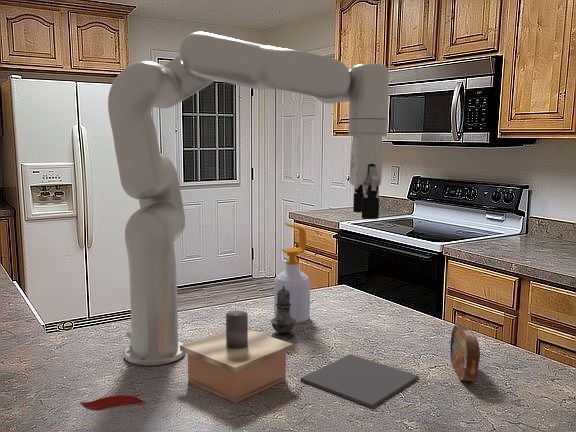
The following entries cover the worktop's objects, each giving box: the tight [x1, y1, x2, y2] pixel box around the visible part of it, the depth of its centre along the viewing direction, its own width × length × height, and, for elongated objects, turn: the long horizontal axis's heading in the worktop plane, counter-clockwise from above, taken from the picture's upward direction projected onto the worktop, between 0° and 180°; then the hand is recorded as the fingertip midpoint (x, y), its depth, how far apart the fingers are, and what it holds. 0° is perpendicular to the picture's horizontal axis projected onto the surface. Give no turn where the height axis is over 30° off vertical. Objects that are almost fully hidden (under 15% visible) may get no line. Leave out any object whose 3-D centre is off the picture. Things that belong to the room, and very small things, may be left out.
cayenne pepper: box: [80, 394, 147, 410], centre depth 96 cm, size 12×5×2 cm, turn 82°
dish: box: [187, 352, 287, 403], centre depth 105 cm, size 13×13×6 cm
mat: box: [300, 353, 419, 409], centre depth 106 cm, size 16×16×1 cm
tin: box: [449, 324, 481, 382], centre depth 110 cm, size 15×3×8 cm, turn 174°
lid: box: [180, 310, 294, 373], centre depth 104 cm, size 15×15×7 cm
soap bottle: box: [273, 222, 311, 324], centre depth 141 cm, size 9×9×25 cm
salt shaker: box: [270, 286, 297, 341], centre depth 129 cm, size 6×6×12 cm
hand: (365, 215), depth 112 cm, fingers open, 9 cm apart
